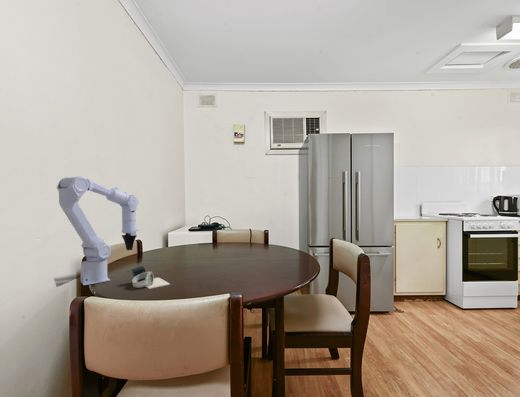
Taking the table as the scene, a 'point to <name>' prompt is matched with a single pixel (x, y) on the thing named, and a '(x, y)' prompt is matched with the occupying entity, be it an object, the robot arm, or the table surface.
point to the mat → (157, 283)
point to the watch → (142, 277)
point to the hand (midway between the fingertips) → (129, 249)
